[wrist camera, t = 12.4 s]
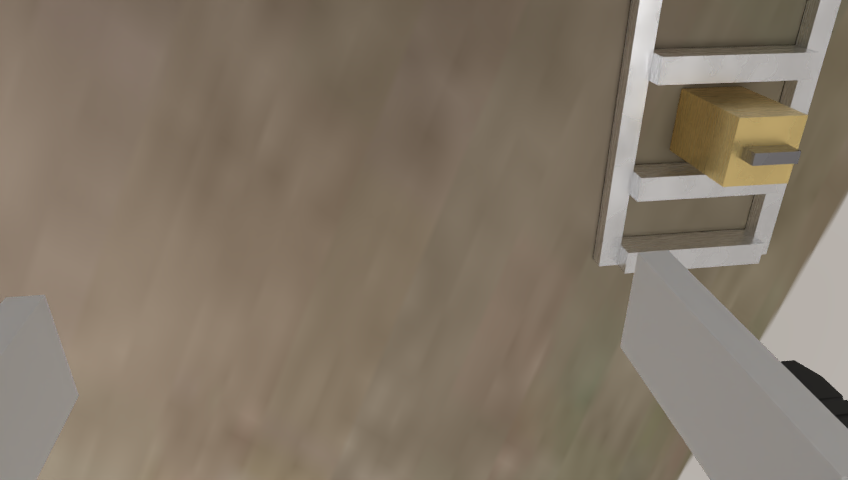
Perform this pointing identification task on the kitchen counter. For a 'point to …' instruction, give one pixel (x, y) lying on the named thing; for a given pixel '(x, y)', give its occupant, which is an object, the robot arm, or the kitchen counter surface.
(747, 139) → the tan rectangular block
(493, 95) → the kitchen counter surface
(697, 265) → the white slotted rack
